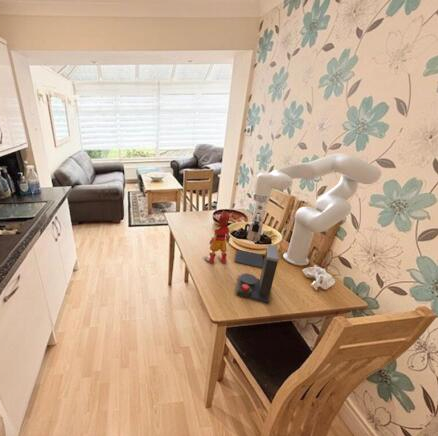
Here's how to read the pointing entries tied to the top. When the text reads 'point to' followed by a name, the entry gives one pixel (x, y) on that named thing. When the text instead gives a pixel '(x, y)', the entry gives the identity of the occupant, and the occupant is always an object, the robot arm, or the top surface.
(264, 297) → the coffee maker
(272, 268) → the brewer column
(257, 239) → the kettle
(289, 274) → the top surface
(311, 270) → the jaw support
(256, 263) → the plate
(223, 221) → the toy
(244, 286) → the power button
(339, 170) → the robot arm
